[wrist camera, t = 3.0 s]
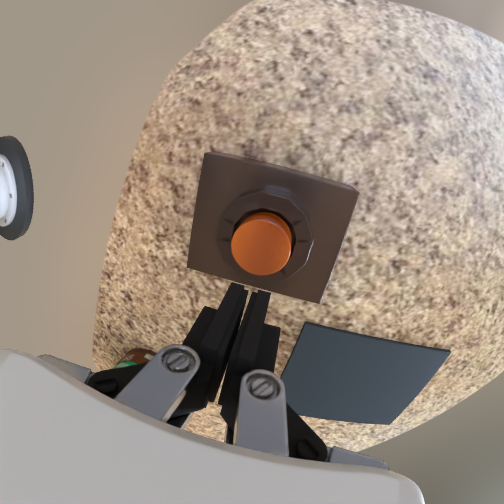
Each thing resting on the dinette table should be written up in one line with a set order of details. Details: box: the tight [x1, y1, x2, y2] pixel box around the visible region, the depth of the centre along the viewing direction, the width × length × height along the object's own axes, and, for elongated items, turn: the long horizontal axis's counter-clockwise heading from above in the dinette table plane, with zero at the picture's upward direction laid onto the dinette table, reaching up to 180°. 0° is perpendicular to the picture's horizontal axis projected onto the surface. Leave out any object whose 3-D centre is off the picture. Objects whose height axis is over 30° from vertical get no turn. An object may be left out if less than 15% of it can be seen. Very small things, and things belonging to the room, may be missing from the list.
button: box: [231, 212, 292, 275], centre depth 19 cm, size 4×4×2 cm
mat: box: [281, 322, 451, 425], centre depth 30 cm, size 20×16×1 cm
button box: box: [187, 151, 359, 304], centre depth 22 cm, size 12×10×4 cm
